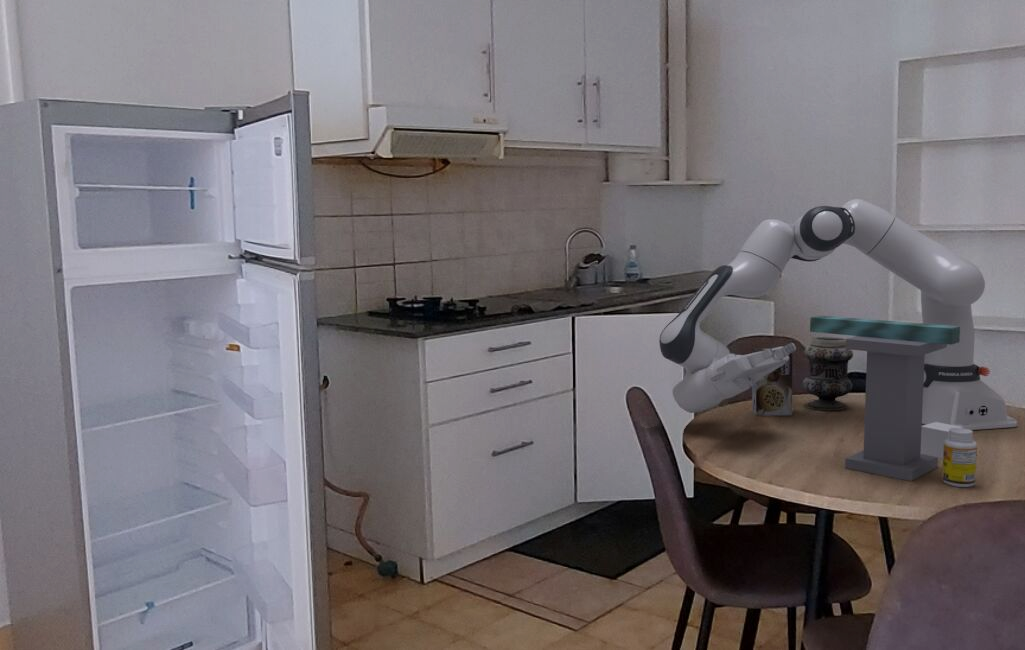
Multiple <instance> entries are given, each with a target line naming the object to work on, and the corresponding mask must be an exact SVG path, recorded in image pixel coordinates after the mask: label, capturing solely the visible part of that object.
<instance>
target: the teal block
mask: <svg viewBox="0 0 1025 650" xmlns="http://www.w3.org/2000/svg"><path fill="white" fill-rule="evenodd" d="M809 319H810V321H809V332H810V333H818V334H819V333H821V334H830V335H843V336H853V337H855V336H862V337H873V338H884V339H895V340H906V341H917V342H928V343H939V344H950V345H952V344H955V343H958V342H959V341H960V326H949V325H936V324H923V322H922V323H920V322H909V321H908V322H907V321H896V320H882V319H870V318H869V319H868V318H859V317H858V318H855V317H842V316H832V315H831V316H830V315H829V316H828V315H816V316H811V317H810V318H809Z"/></svg>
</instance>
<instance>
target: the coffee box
mask: <svg viewBox="0 0 1025 650" xmlns="http://www.w3.org/2000/svg"><path fill="white" fill-rule="evenodd" d="M773 348H774V347H773ZM773 348H769V347H768V348H763V347H762V348H752V351H751V352H752V353H756V352H760V351H764V350H766V349H773ZM788 356H789V360H788V362H786V363H785V364H784V365H782V366H780V367H779V368H777V369H776V370H774V371H772V372H771V373H769V374H767V375H765V376H763V378H764V379H763V380H761V381H759V382H757V383H755V384H753V385H752V386H751V411H752V413H753V414H754V415H755V416H756V417H757V416H758V417H759V416H765V417H766V416H793V367H794V366H793V363H794V362H793V357H794V352H792V353H790V354H789V355H788Z"/></svg>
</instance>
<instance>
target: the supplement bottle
mask: <svg viewBox="0 0 1025 650" xmlns="http://www.w3.org/2000/svg"><path fill="white" fill-rule="evenodd" d="M973 432H974V430H969V429H964V428H951V429H949V438H947V439H946V440H945V441H944V453H943V459H942V481H943V483H944V484H946V485H949V486H951V487H958V488H970V487H973V486H974V485H975V484H976V475H977V454H978V453H977V452H978V450H977V449H978V444H977V442H976V441H975V440H974V438H973V437H974V436H973V435H974V433H973Z"/></svg>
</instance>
